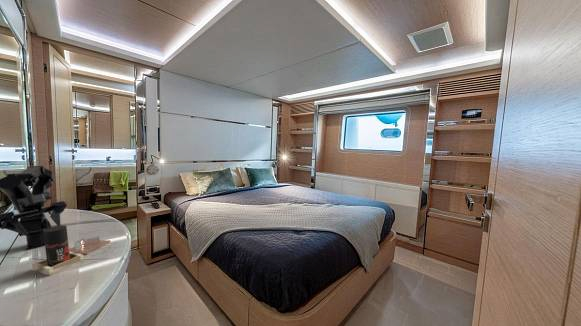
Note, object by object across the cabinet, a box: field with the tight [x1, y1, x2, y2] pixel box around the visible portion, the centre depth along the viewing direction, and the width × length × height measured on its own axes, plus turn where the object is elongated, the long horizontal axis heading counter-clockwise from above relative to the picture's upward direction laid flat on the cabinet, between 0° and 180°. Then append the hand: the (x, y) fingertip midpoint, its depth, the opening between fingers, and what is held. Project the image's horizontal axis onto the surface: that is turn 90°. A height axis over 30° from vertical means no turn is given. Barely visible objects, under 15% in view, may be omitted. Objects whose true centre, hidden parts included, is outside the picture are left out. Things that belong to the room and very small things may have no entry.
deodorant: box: [43, 224, 70, 267], centre depth 81 cm, size 6×6×15 cm
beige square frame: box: [31, 251, 85, 277], centre depth 82 cm, size 10×10×2 cm
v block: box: [69, 235, 111, 255], centre depth 95 cm, size 10×11×3 cm
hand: (43, 229), depth 82 cm, fingers open, 9 cm apart
